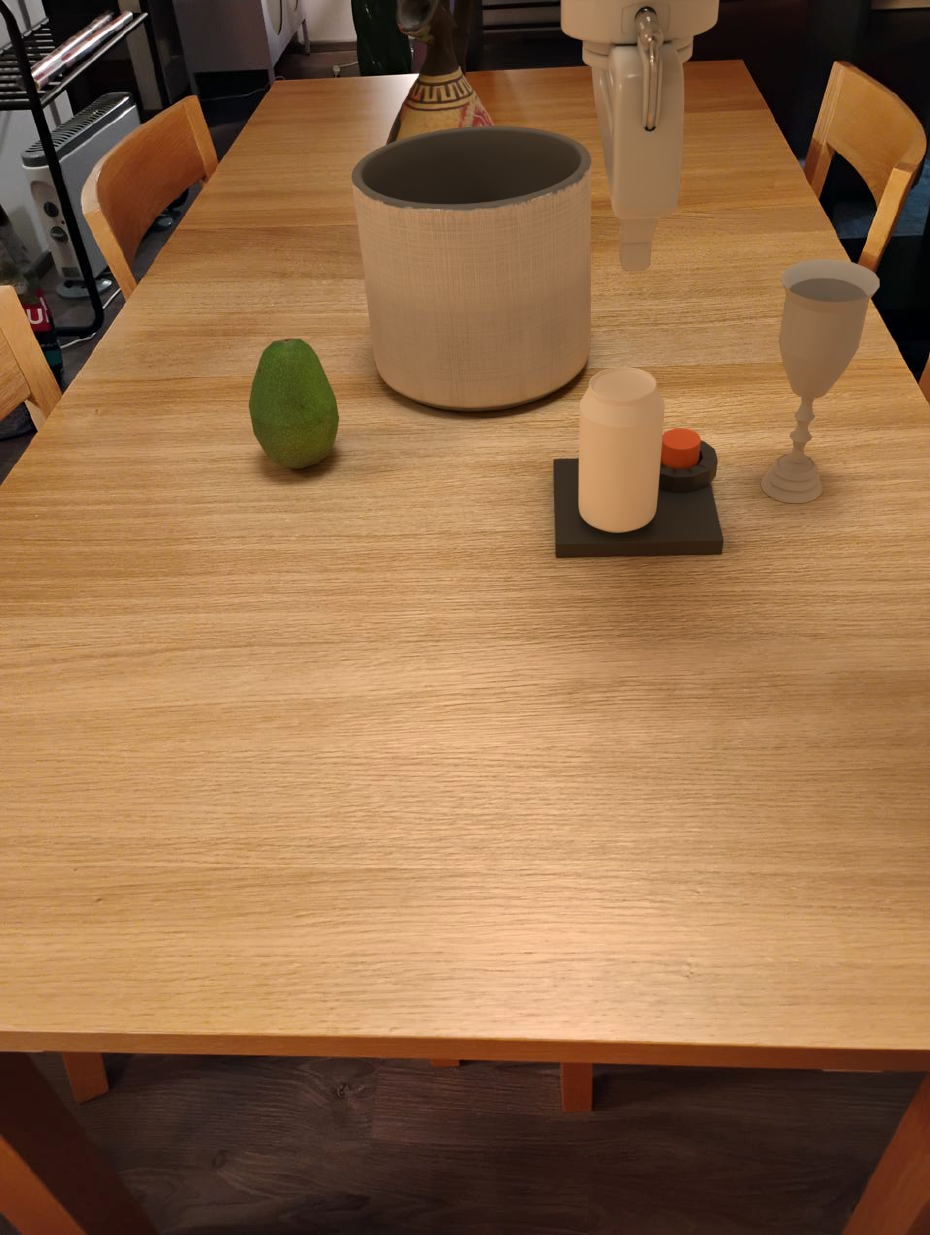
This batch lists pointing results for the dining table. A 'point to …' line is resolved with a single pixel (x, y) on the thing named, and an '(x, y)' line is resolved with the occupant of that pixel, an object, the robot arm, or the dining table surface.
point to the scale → (674, 529)
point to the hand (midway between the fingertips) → (628, 236)
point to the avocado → (293, 405)
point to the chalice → (816, 356)
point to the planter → (477, 264)
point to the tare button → (680, 448)
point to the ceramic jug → (438, 70)
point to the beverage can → (620, 449)
